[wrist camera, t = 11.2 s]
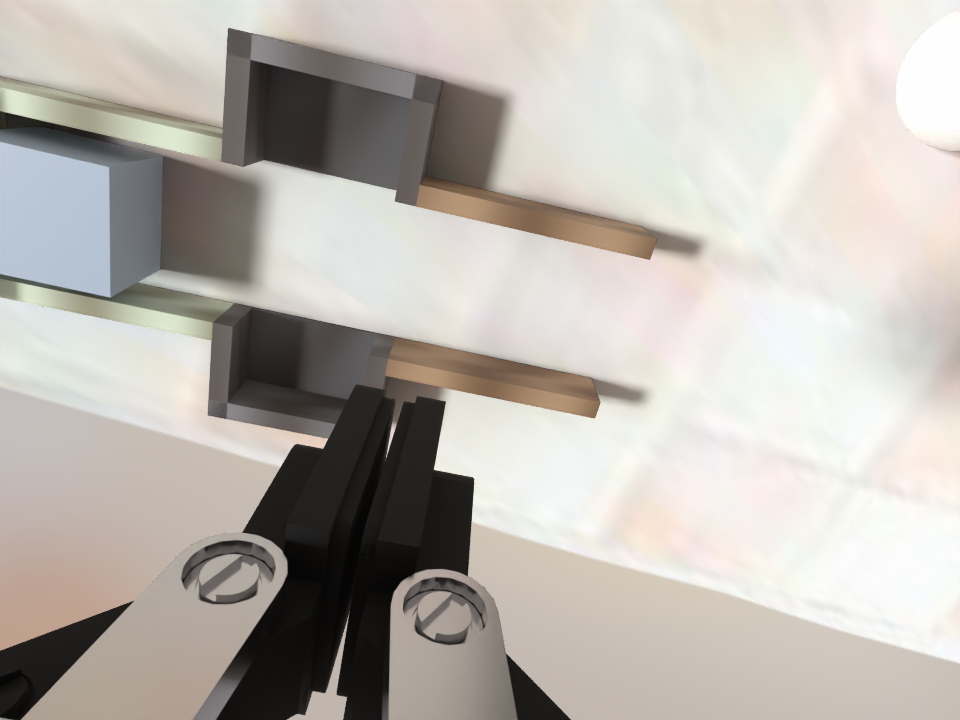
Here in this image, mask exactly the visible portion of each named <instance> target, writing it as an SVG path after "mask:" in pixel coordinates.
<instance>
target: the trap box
mask: <svg viewBox="0 0 960 720" xmlns="http://www.w3.org/2000/svg"><path fill="white" fill-rule="evenodd" d="M442 83H443V81H442V80H438V79H434V78H430V77H426V76H422V75H418V74H414V73H410V72H406V71H402V70H398V69H394V68H390V67H386V66H382V65H378V64H374V63H370V62H366V61H362V60H357V59H353V58H349V57H345V56H341V55H337V54H333V53H329V52H325V51H321V50H317V49H313V48H309V47H305V46H301V45H297V44H293V43H289V42H285V41H281V40H277V39H273V38H269V37H265V36H261V35H257V34H253V33H248V32H244V31H240V30H235V29H231V28H228V39H227V58H226V77H225V96H224V115H223V129H222V128H217V127H213V126H209V125H205V124H200V123H196V122H192V121H188V120H183V119H179V118H175V117H170V116H166V115H162V114H158V113H153V112H149V111H145V110H140V109H136V108H132V107H128V106H123V105H119V104H115V103H111V102H106V101H102V100H98V99H93V98H89V97H85V96H81V95H76V94H72V93H68V92H63V91H59V90H55V89H51V88H46V87H42V86H38V85H34V84H29V83H25V82H21V81H16V80H12V79H8V78H4V77H0V129H7V128H6V116H5V112H7V113H11V114H15V115H20V116H24V117H28V118H33V119H37V120H41V121H46V122H50V123H55V124H59V125H63V126H68V127H72V128H76V129H81V130H85V131H90V132H94V133H98V134H103V135H107V136H111V137H116V138H120V139H124V140H129V141H133V142H138V143H142V144H146V145H151V146H155V147H159V148H164V149H168V150H172V151H177V152H181V153H186V154H190V155H194V156H199V157H203V158H207V159H212V160H216V161H220V162H225V163H229V164H234V165H238V166H242V167H244V166H247V165H250V164H253V163H256V162H259V161H262V160H267V161H271V162H276V163H280V164H284V165H289V166H293V167H297V168H302V169H306V170H310V171H315V172H319V173H323V174H328V175H332V176H336V177H341V178H345V179H349V180H354V181H358V182H362V183H367V184H371V185H375V186H380V187H384V188H388V189H393V190H397V192H396V197H395V202H399V203H404V204H408V205H413V206H417V207H421V208H426V209H430V210H434V211H439V212H443V213H447V214H452V215H456V216H461V217H465V218H469V219H474V220H478V221H482V222H487V223H491V224H496V225H500V226H504V227H509V228H513V229H517V230H522V231H526V232H530V233H535V234H539V235H544V236H548V237H552V238H557V239H561V240H565V241H570V242H574V243H578V244H583V245H587V246H592V247H596V248H600V249H605V250H609V251H613V252H618V253H622V254H626V255H631V256H635V257H640V258H644V259H648V260H650V258H651V255H652V253H653V250H654V247H655V244H656V241H657V239H655V238H654V237H653V236H652V235H651V234H650V233H649V232H647V231H646V230H645V229H644V228H643V227H641V226H637V225H632V224H628V223H624V222H620V221H615V220H611V219H607V218H603V217H598V216H594V215H590V214H585V213H581V212H577V211H573V210H568V209H564V208H560V207H555V206H551V205H547V204H543V203H538V202H534V201H530V200H526V199H521V198H517V197H513V196H508V195H504V194H500V193H496V192H491V191H487V190H483V189H478V188H474V187H470V186H466V185H461V184H457V183H453V182H449V181H444V180H440V179H436V178H431V177H427V176H425V175H426V170H427V165H428V159H429V154H430V148H431V143H432V137H433V132H434V127H435V121H436V116H437V110H438V105H439V99H440V94H441V89H442ZM0 297H1V298H6V299H11V300H16V301H21V302H25V303H30V304H35V305H40V306H45V307H50V308H55V309H60V310H65V311H70V312H75V313H79V314H84V315H89V316H94V317H99V318H104V319H109V320H114V321H119V322H124V323H129V324H133V325H138V326H143V327H148V328H153V329H158V330H163V331H168V332H173V333H178V334H183V335H187V336H192V337H197V338H202V339H207V340H212V344H211V363H210V382H209V401H208V416H214V417H219V418H224V419H229V420H234V421H239V422H245V423H250V424H255V425H260V426H265V427H271V428H276V429H281V430H286V431H291V432H296V433H302V434H307V435H312V436H317V437H322V438H328V439H329V437H330V435H331V433H332V431H333V429H334V427H335V425H336V423H337V421H338V419H339V417H340V415H341V413H342V411H343V409H344V407H345V404H346V402H347V400H348V398H349V396H350V394H351V392H352V390H353V388H354V386H355V385H356V384H358V385H363V386H369V387H374V388H379V389H384V390H386V387H387V382H388V376H389V377H394V378H399V379H404V380H408V381H413V382H418V383H423V384H428V385H433V386H438V387H443V388H448V389H453V390H458V391H462V392H467V393H472V394H477V395H482V396H487V397H492V398H497V399H502V400H507V401H512V402H516V403H521V404H526V405H531V406H536V407H541V408H546V409H551V410H556V411H561V412H566V413H571V414H575V415H580V416H585V417H590V418H595V417H596V414H597V411H598V408H599V405H600V400H599V397H598V395H597V392H596V389H595V387H594V384H593V381H592V379H591V378H588V377H583V376H578V375H574V374H569V373H564V372H559V371H555V370H550V369H545V368H540V367H535V366H531V365H526V364H521V363H516V362H512V361H507V360H502V359H497V358H492V357H488V356H483V355H478V354H473V353H469V352H464V351H459V350H454V349H450V348H445V347H440V346H435V345H430V344H426V343H421V342H416V341H411V340H407V339H402V338H397V337H392V336H387V335H383V334H378V333H373V332H368V331H364V330H359V329H354V328H349V327H344V326H340V325H335V324H330V323H325V322H321V321H316V320H311V319H306V318H302V317H297V316H292V315H287V314H282V313H278V312H273V311H268V310H263V309H259V308H254V307H249V306H244V305H239V304H235V303H230V302H225V301H220V300H216V299H211V298H206V297H201V296H197V295H192V294H187V293H182V292H177V291H173V290H168V289H163V288H158V287H154V286H149V285H144V284H139V283H135V284H133V285H132V286H130V287H128V288H126V289H125V290H123V291H121V292H119V293H118V294H116V295H114V296H112V297H111V298H110V297H105V296H101V295H96V294H91V293H87V292H82V291H77V290H73V289H68V288H63V287H59V286H54V285H49V284H45V283H40V282H35V281H31V280H26V279H21V278H17V277H12V276H7V275H3V274H0Z"/></svg>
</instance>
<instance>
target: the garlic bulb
mask: <svg viewBox="0 0 960 720" xmlns="http://www.w3.org/2000/svg"><path fill="white" fill-rule="evenodd" d="M896 103H897V108H898V113H899V116H900V118H901V120H902V122H903V124H904V125H905V127H906V128H907V129H908V131H909V132H910V133H911V134H912V135H913V136H914V137H915V138H917V139H918V140H920V141H921V142H923V143H925V144H926V145H929V146H932V147H935V148H938V149H941V150H946V151H960V8H959V9H957V10H955V11H954V12H952V13H950V14H948V15H946V16H945V17H943V18H942V19H940V20H939V21H937V22H936V23H935V24H934V25H932V26H931V27H930V28H929V29H928V30H927V31H926V32H924V33H923V34H922V35H921V36H920V37H919V39H918V40H917V41H916V42H915V44H914V45H913V46H912V48H911V49H910V50H909V52H908V54H907V56H906V58H905V60H904V62H903V64H902V66H901V69H900V72H899V74H898V79H897V84H896Z"/></svg>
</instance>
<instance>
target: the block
mask: <svg viewBox="0 0 960 720" xmlns="http://www.w3.org/2000/svg"><path fill="white" fill-rule="evenodd" d="M162 180H163V155H159V154H154V153H150V152H146V151H142V150H137V149H133V148H129V147H125V146H121V145H116V144H112V143H108V142H104V141H99V140H95V139H91V138H87V137H83V136H78V135H74V134H70V133H66V132H61V131H57V130H53V129H49V128H45V127H40V126H34V127H23V128H12V129H0V274H3V275H7V276H12V277H17V278H21V279H26V280H31V281H35V282H40V283H45V284H49V285H54V286H59V287H63V288H68V289H73V290H77V291H82V292H87V293H91V294H96V295H101V296H105V297H110V298H111V297H112V296H114V295H116V294H118V293H119V292H121V291H123V290H125V289H126V288H128V287H130V286H132V285H133V284H135V283H137V282H139V281H140V280H142V279H144V278H146V277H147V276H149V275H151V274H153V273H154V272H156V271H158V270H160V263H161V221H162Z"/></svg>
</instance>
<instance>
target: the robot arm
mask: <svg viewBox="0 0 960 720" xmlns="http://www.w3.org/2000/svg"><path fill="white" fill-rule="evenodd" d="M385 394H386V390H384V389H379V388H374V387H369V386H363V385H358V384H356V385H355V386H354V388H353V390H352V392H351V394H350V396H349V398H348V400H347V402H346V404H345V407H344V409H343V411H342V413H341V415H340V417H339V419H338V421H337V423H336V425H335V427H334V429H333V431H332V433H331V435H330V437H329V439H328V441H327V443H326V445H325V447H324V449H321V448H316V447H310V446H305V445H300V444H296V445H294V446H293V448H292V449H291V451H290V452H289V454H288V456H287V457H286V459H285V461H284V463H283V464H282V466H281V468H280V469H279V471H278V473H277V475H276V476H275V478H274V480H273V482H272V483H271V485H270V486H269V488H268V490H267V492H266V493H265V495H264V497H263V498H262V500H261V502H260V504H259V505H258V507H257V508H256V510H255V512H254V514H253V515H252V517H251V519H250V520H249V522H248V524H247V525H246V527H245V529H244V531H243V532H242V533H223V534H219V535H214V536H210V537H207V538H204V539H202V540H200V541H198V542H196V543H194V544H191V545H190V546H189V547H188V548H186V549H185V550H184V551H183V552H181V553H180V554H179V555H178V556H177V557H176V558H175V559H174V560H173V561H172V562H171V563H170V564H169V565H168V566H167V567H166V568H165V569H164V570H163V572H162V573H161V574H160V575H159V576H158V577H157V578H156V579H155V580H154V581H153V582H152V583H151V584H150V585H149V586H148V587H147V588H146V589H145V590H144V591H143V592H142V593H141V595H140V596H139V597H138V598H137V599H136V600H135V601H132V602H129V603H127V604H124V605H121V606H119V607H116V608H113V609H111V610H108V611H106V612H103V613H100V614H97V615H95V616H92V617H89V618H87V619H84V620H81V621H79V622H76V623H73V624H71V625H68V626H65V627H63V628H60V629H57V630H55V631H52V632H49V633H47V634H44V635H41V636H39V637H36V638H33V639H31V640H28V641H26V642H23V643H20V644H17V645H14V646H12V647H9V648H7V649H4V650H1V651H0V720H287V719H289V718H290V717H292V716H293V715H295V714H302V715H305V713H306V710H307V707H308V704H309V701H310V698H311V694H312V691H316V692H321V693H325V692H326V690H327V687H328V684H329V680H330V677H331V673H332V670H333V667H334V663H335V659H336V656H337V653H338V649H339V646H340V643H341V639H342V636H343V632H344V629H345V625H346V622H347V618H348V615H349V619H348V625H347V632H346V638H345V644H344V651H343V657H342V663H341V669H340V675H339V682H338V688H337V695H339V696H345V697H347V701H346V707H345V713H344V719H343V720H570V719H569V717H568V716H567V715H566V714H565V713H564V712H563V711H562V710H561V709H560V708H559V707H558V706H557V705H556V704H555V703H554V702H553V701H552V700H551V699H550V698H549V697H548V696H547V695H546V694H545V693H544V692H543V691H542V690H541V689H540V688H539V687H538V686H537V685H536V684H535V683H534V682H533V680H531V678H529V677H528V675H526V673H525V672H524V671H523V670H521V668H520V667H519V666H518V665H517V664H516V663H515V662H514V661H513V660H512V659H511V658H510V657H509V656H508V655H507V654H506V652H505V647H504V640H503V635H502V629H501V624H500V619H499V613H498V610H497V607H496V605H495V602H494V599H493V598H492V596H491V595H490V594H489V593H488V591H487V590H486V589H485V587H483V586H482V585H480V584H479V583H478V582H477V581H475V580H474V579H473V578H471V577H468V565H469V550H470V549H469V548H470V535H471V521H472V506H473V492H474V478H473V477H468V476H462V475H457V474H452V473H447V472H441V471H436V470H434V465H435V460H436V454H437V449H438V443H439V437H440V432H441V426H442V420H443V415H444V409H445V403H446V402H445V401H440V400H435V399H430V398H424V397H419V396H417V398H416V402H415V403H410V402H405V401H404V404H403V407H402V410H401V413H400V416H399V420H398V423H397V426H396V429H395V432H394V435H393V439H392V442H391V445H390V448H389V451H388V455H387V458H386V454H387V449H388V443H389V437H390V431H391V425H392V419H393V413H394V407H395V399H390V398H385ZM385 460H386V461H385ZM349 612H350V613H349Z"/></svg>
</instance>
